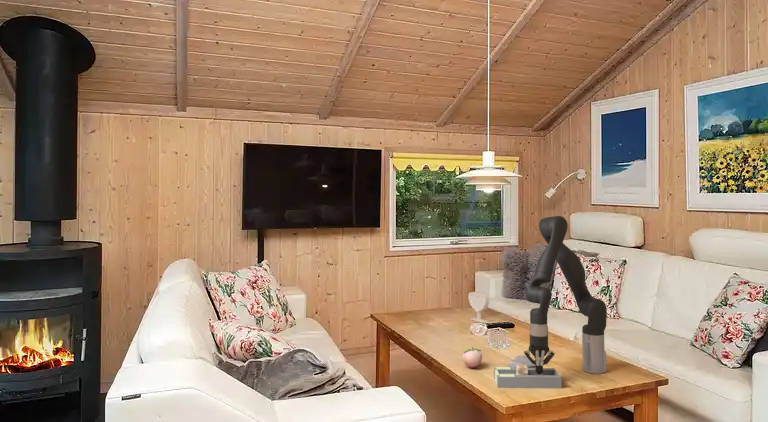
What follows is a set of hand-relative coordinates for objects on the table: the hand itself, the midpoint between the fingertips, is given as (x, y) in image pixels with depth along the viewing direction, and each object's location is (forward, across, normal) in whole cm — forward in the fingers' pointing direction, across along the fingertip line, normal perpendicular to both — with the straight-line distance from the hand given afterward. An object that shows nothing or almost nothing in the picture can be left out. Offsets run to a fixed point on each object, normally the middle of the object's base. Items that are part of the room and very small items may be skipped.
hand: (539, 373), depth 215 cm
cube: (+1, +7, 0) cm, 7 cm away
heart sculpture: (+4, +13, -110) cm, 111 cm away
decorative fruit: (+4, +26, -18) cm, 32 cm away
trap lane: (+4, +5, 0) cm, 7 cm away
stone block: (+5, +3, -20) cm, 21 cm away
